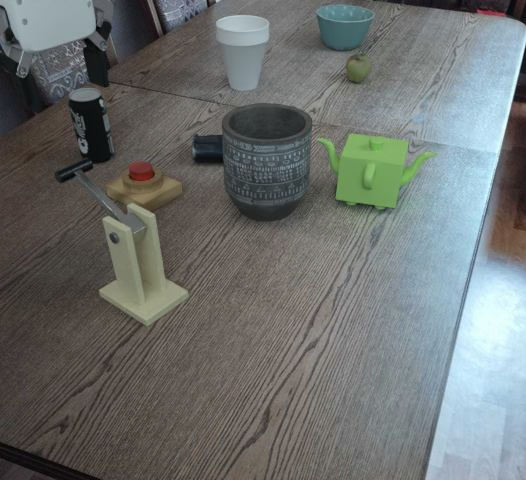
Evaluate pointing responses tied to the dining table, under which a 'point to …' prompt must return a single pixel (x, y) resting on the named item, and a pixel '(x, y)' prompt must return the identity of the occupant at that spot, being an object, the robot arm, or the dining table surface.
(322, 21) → the bowl
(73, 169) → the switch lever
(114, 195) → the button block
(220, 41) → the cup
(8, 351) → the dining table surface
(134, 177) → the button
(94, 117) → the beverage can
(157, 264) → the switch bracket
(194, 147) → the electronic device
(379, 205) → the teapot
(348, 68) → the apple
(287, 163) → the planter
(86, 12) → the robot arm
